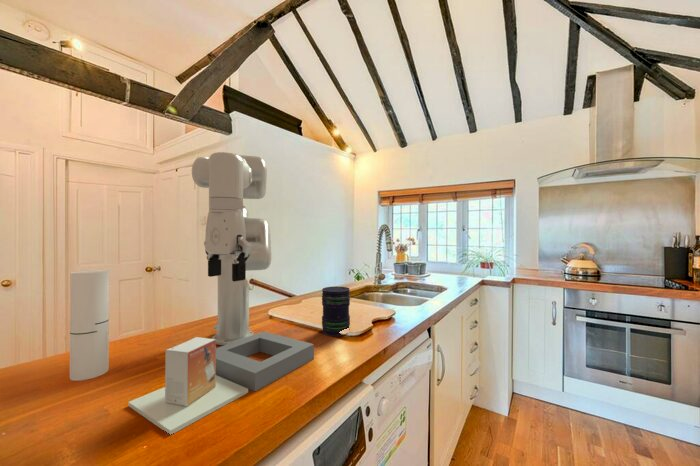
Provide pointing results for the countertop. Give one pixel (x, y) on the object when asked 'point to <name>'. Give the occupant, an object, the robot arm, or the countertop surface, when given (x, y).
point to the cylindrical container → (89, 324)
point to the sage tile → (182, 416)
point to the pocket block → (256, 373)
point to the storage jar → (335, 310)
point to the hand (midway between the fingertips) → (226, 278)
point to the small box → (190, 370)
